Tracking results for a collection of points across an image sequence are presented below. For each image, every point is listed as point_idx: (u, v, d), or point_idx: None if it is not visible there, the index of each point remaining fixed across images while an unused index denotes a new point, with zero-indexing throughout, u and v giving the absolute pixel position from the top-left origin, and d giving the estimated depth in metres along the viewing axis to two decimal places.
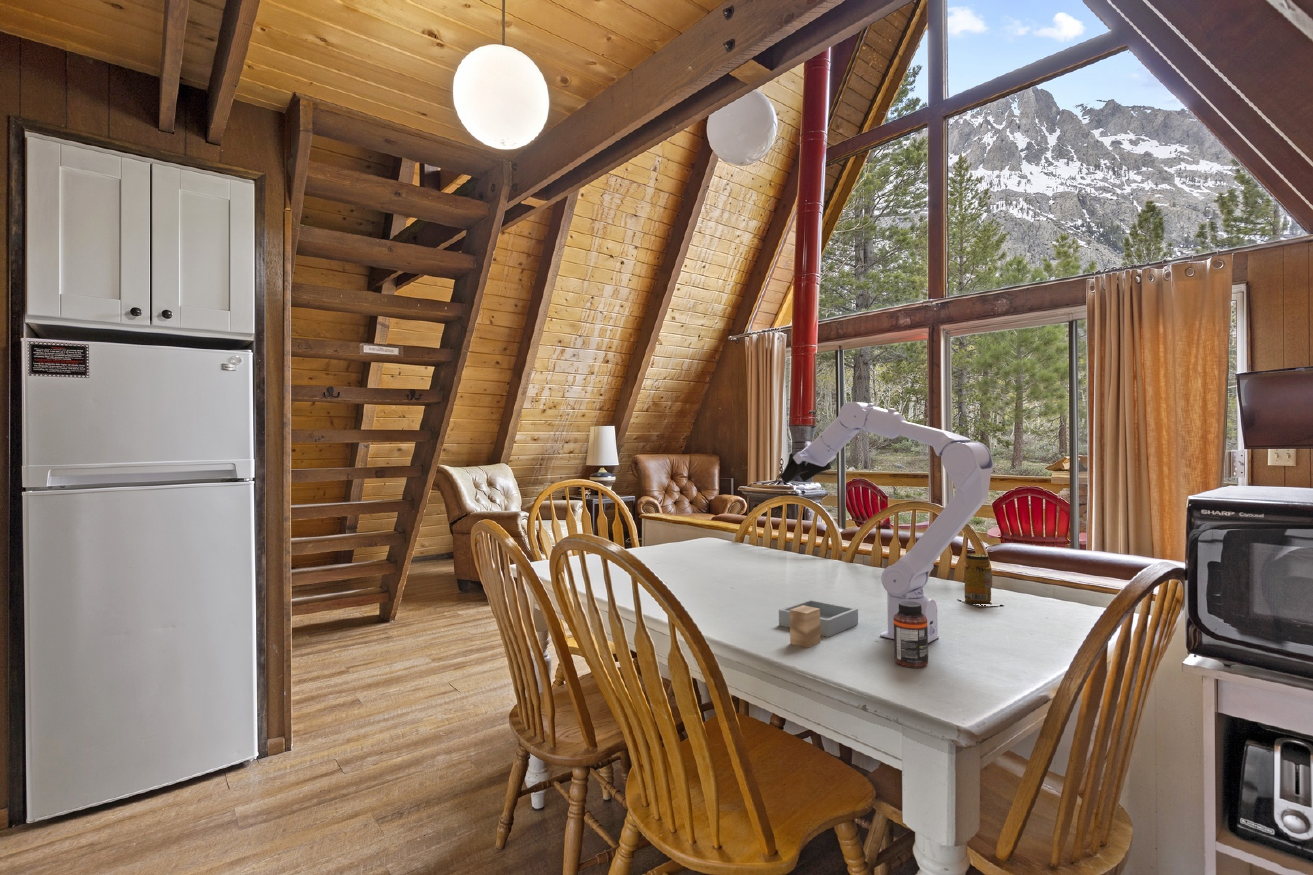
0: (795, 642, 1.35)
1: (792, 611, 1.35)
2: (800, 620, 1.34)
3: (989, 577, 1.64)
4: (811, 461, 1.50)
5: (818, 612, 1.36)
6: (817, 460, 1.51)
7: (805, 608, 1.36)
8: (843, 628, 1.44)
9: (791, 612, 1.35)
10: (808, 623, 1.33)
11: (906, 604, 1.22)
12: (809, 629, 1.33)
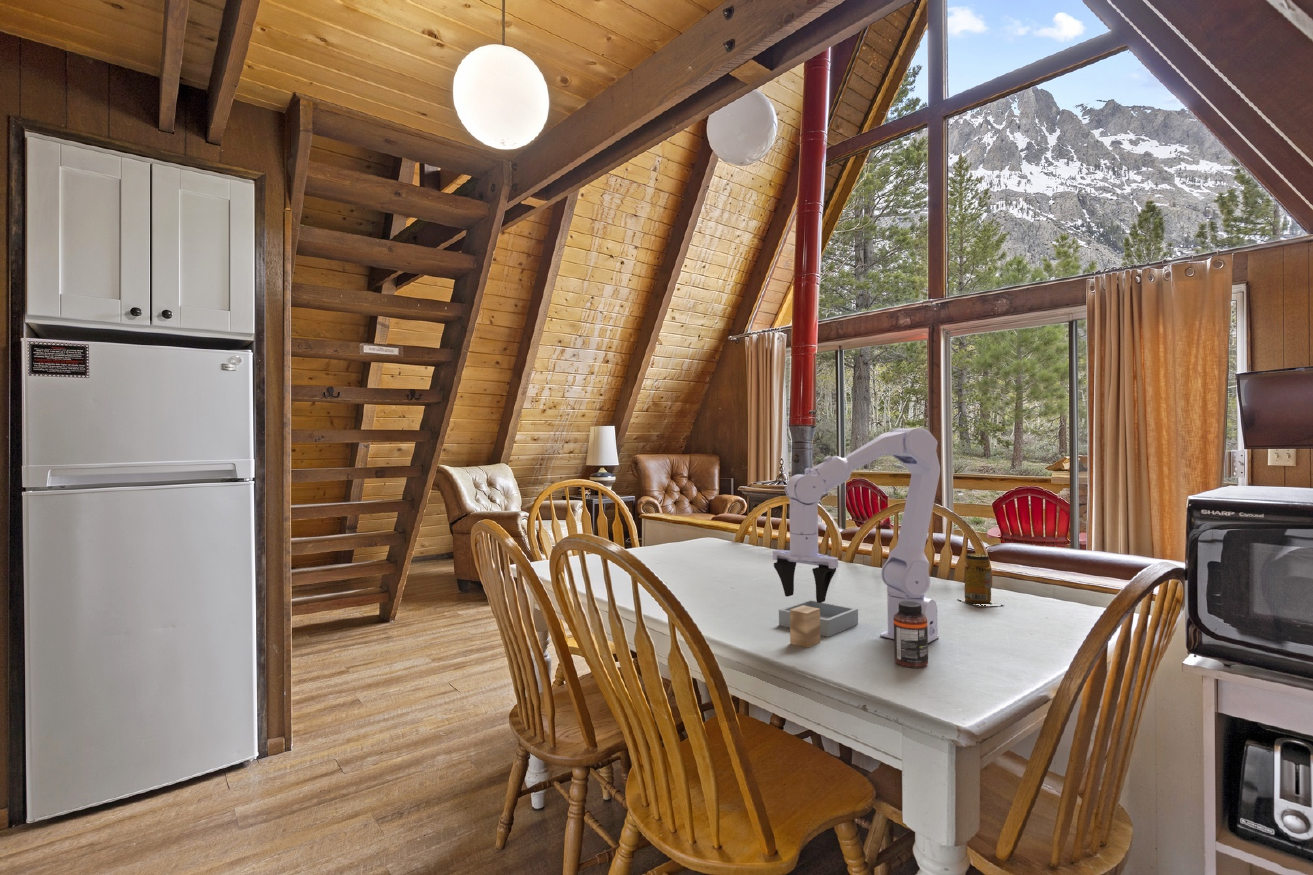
0: (795, 642, 1.35)
1: (792, 611, 1.35)
2: (800, 620, 1.34)
3: (989, 577, 1.64)
4: None
5: (818, 612, 1.36)
6: None
7: (805, 608, 1.36)
8: (843, 628, 1.44)
9: (791, 612, 1.35)
10: (808, 623, 1.33)
11: (906, 604, 1.22)
12: (809, 629, 1.33)
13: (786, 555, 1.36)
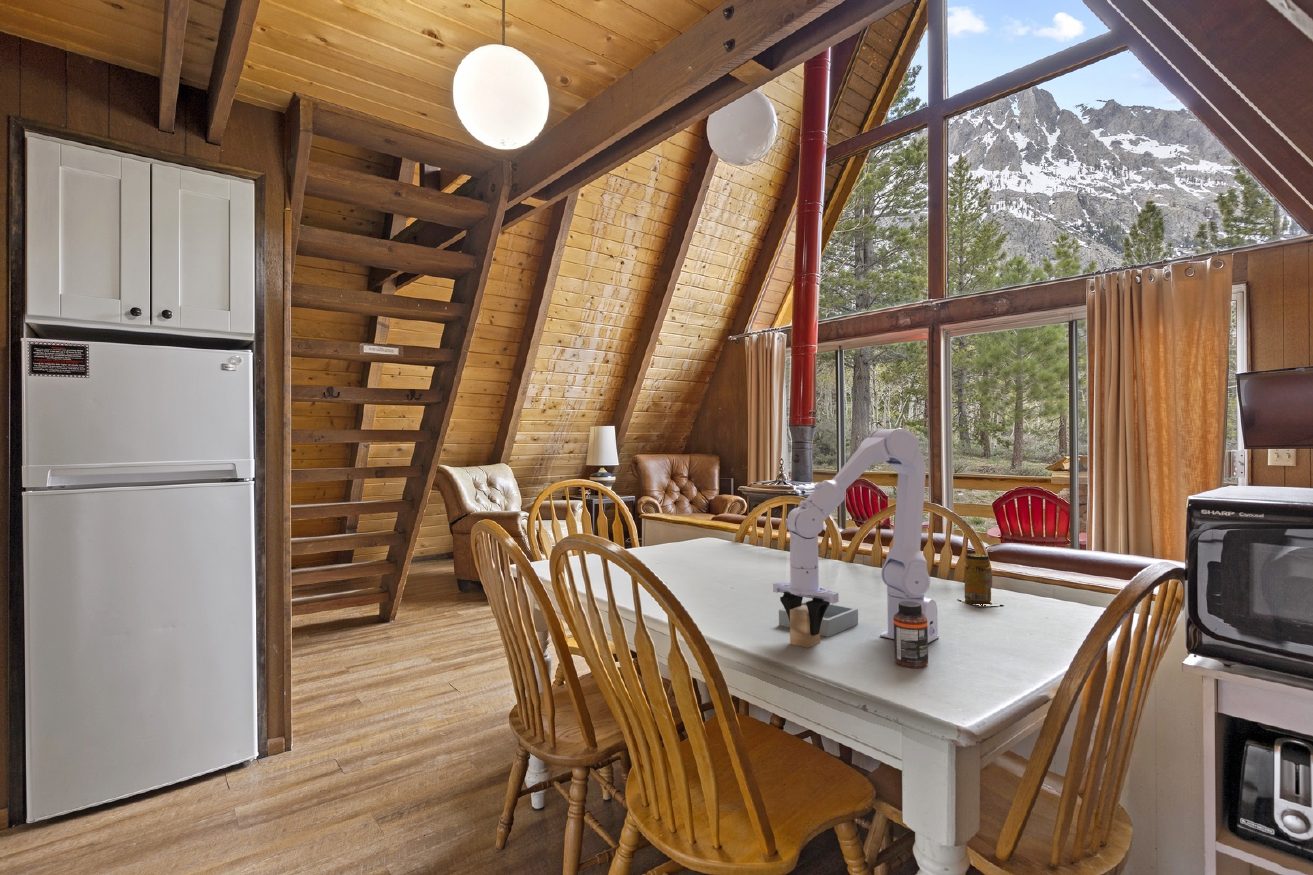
0: (795, 642, 1.35)
1: (792, 611, 1.35)
2: (800, 619, 1.34)
3: (989, 577, 1.64)
4: None
5: None
6: (819, 587, 1.36)
7: (805, 608, 1.36)
8: (843, 628, 1.44)
9: (791, 612, 1.35)
10: (808, 623, 1.33)
11: (906, 604, 1.22)
12: (809, 629, 1.33)
13: (786, 588, 1.36)
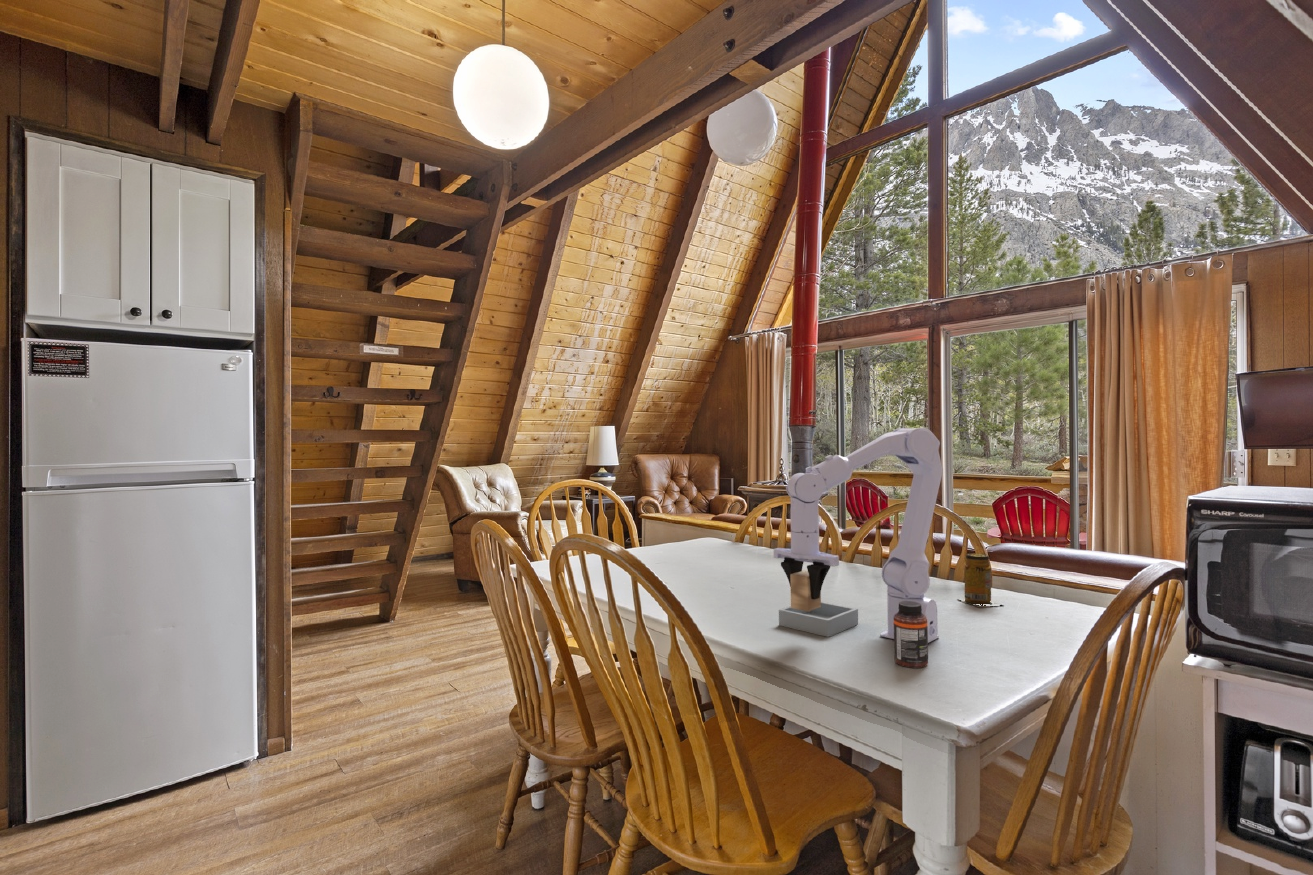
0: (796, 606, 1.35)
1: (793, 575, 1.36)
2: (801, 583, 1.34)
3: (989, 577, 1.64)
4: None
5: None
6: None
7: (805, 573, 1.37)
8: (843, 628, 1.44)
9: (792, 576, 1.36)
10: (808, 586, 1.34)
11: (906, 604, 1.22)
12: (810, 593, 1.34)
13: (787, 553, 1.37)
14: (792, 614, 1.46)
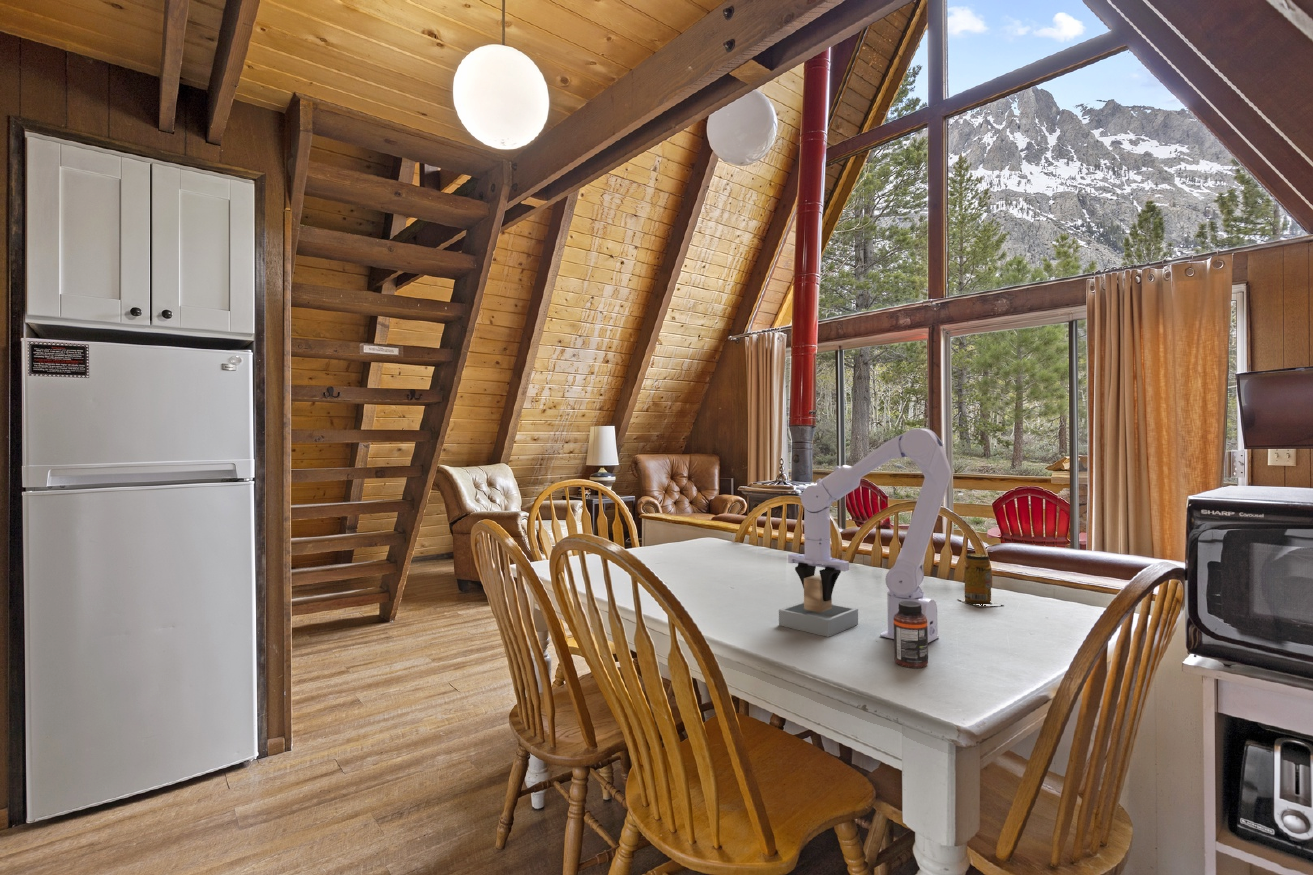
0: (809, 607, 1.47)
1: (806, 579, 1.48)
2: (814, 587, 1.46)
3: (989, 577, 1.64)
4: None
5: None
6: (830, 557, 1.48)
7: (818, 577, 1.49)
8: (843, 628, 1.44)
9: (805, 580, 1.48)
10: (820, 590, 1.46)
11: (906, 604, 1.22)
12: (822, 596, 1.46)
13: (801, 559, 1.49)
14: (792, 614, 1.46)
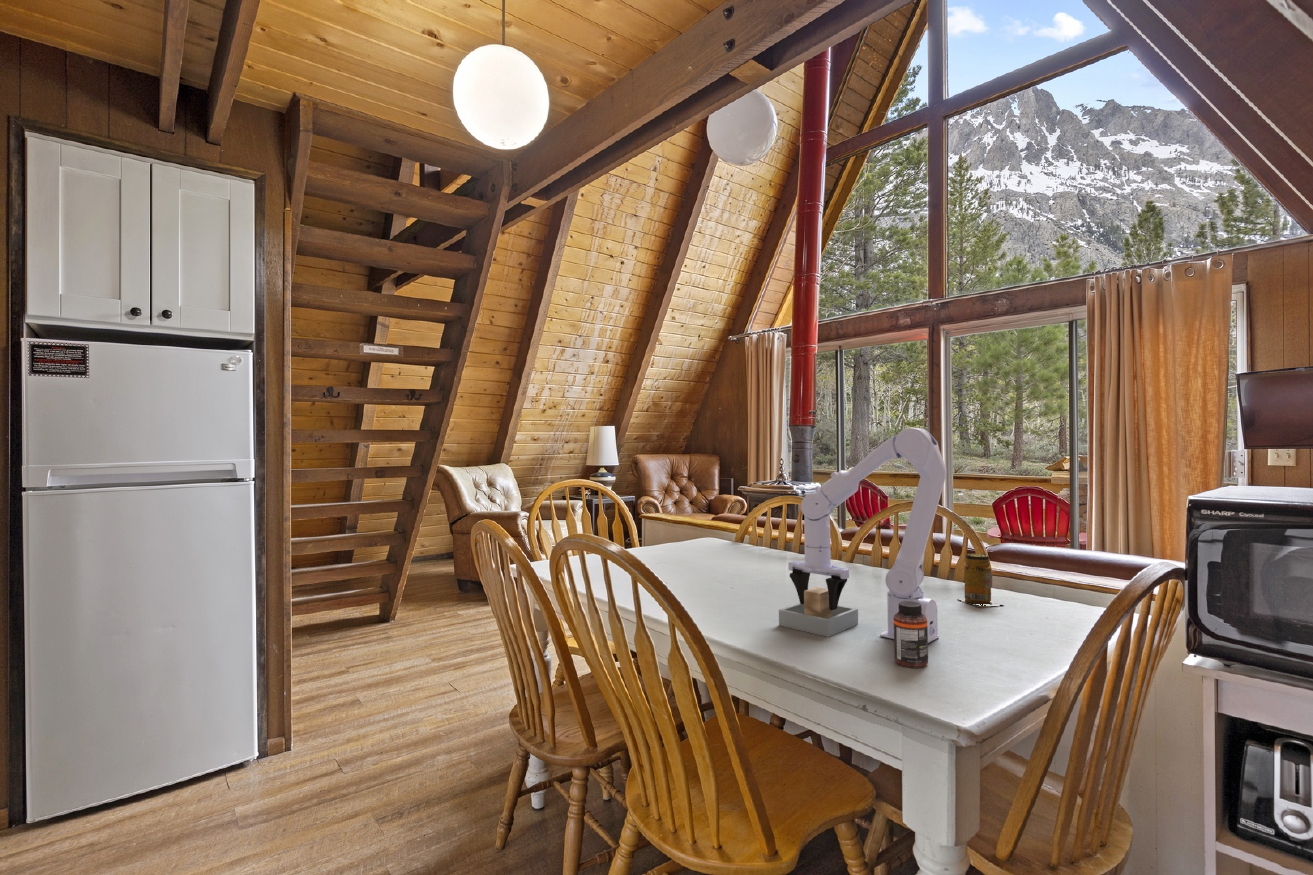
0: None
1: (806, 592, 1.48)
2: (814, 599, 1.46)
3: (989, 577, 1.64)
4: None
5: None
6: (830, 564, 1.48)
7: (818, 589, 1.49)
8: (843, 628, 1.44)
9: (805, 593, 1.48)
10: (821, 602, 1.46)
11: (906, 604, 1.22)
12: (822, 609, 1.46)
13: (801, 566, 1.49)
14: (792, 614, 1.46)
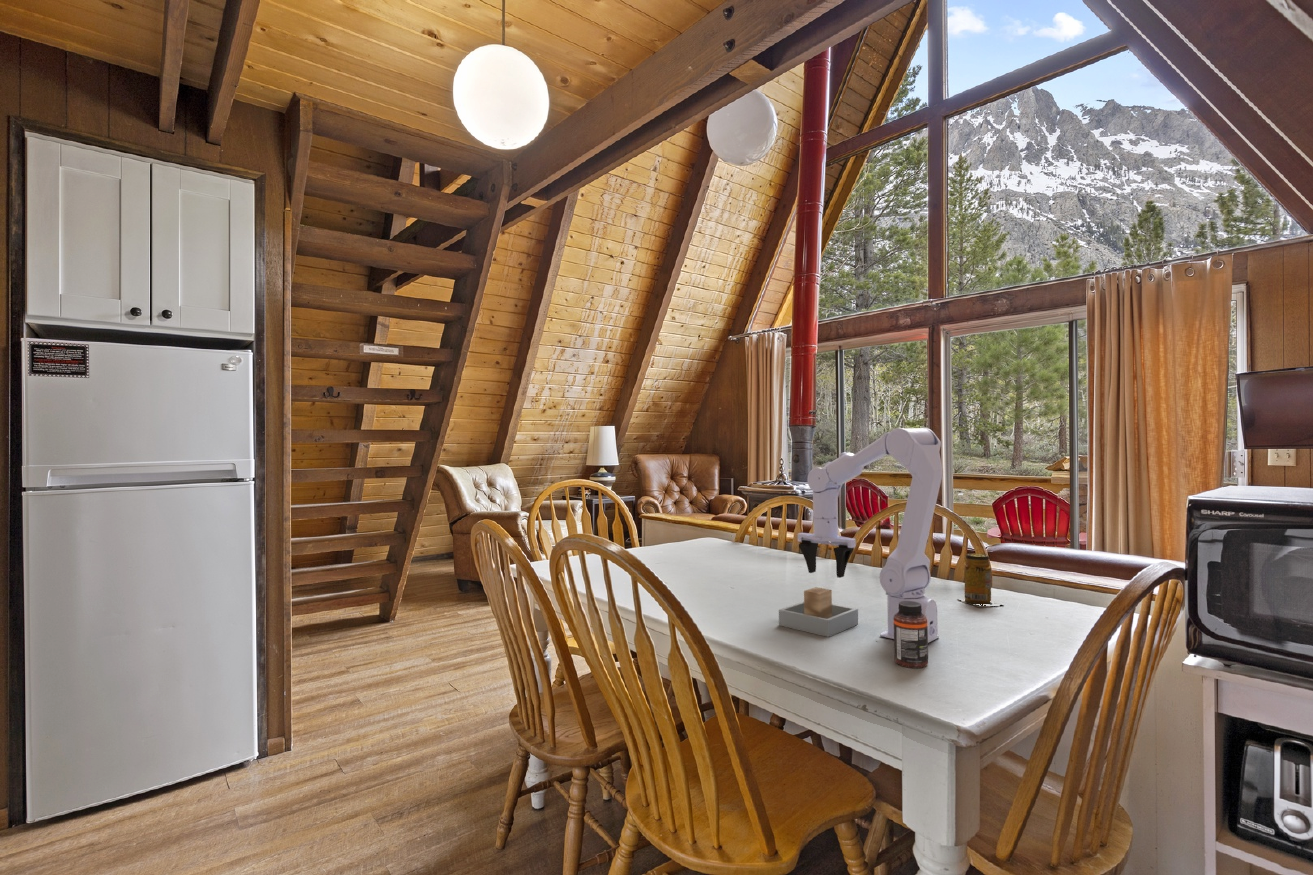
0: None
1: (806, 592, 1.48)
2: (814, 599, 1.46)
3: (989, 577, 1.64)
4: None
5: (830, 593, 1.48)
6: None
7: (818, 589, 1.49)
8: (843, 628, 1.44)
9: (805, 593, 1.48)
10: (821, 602, 1.46)
11: (906, 604, 1.22)
12: (822, 609, 1.46)
13: (810, 537, 1.57)
14: (792, 614, 1.46)
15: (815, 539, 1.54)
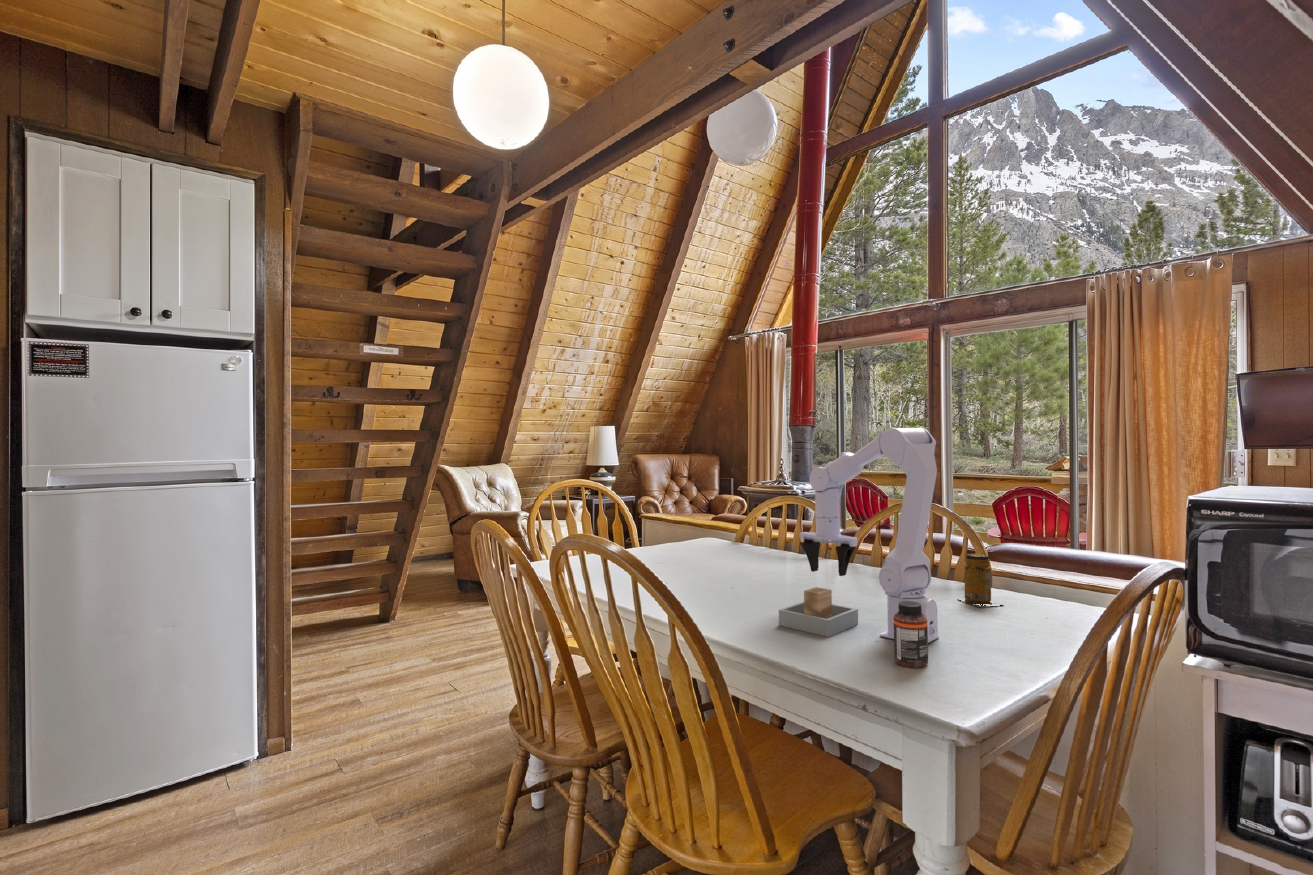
0: None
1: (806, 592, 1.48)
2: (814, 599, 1.46)
3: (989, 577, 1.64)
4: None
5: (830, 593, 1.48)
6: None
7: (818, 589, 1.49)
8: (843, 628, 1.44)
9: (805, 593, 1.48)
10: (821, 602, 1.46)
11: (906, 604, 1.22)
12: (822, 609, 1.46)
13: (812, 536, 1.59)
14: (792, 614, 1.46)
15: (817, 538, 1.56)
